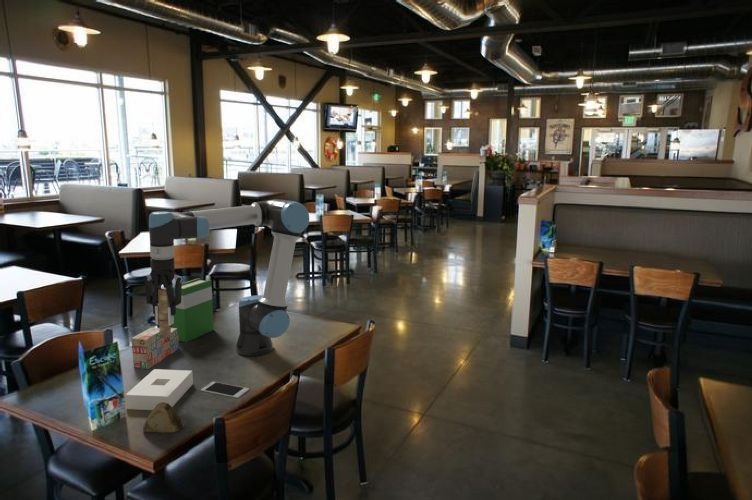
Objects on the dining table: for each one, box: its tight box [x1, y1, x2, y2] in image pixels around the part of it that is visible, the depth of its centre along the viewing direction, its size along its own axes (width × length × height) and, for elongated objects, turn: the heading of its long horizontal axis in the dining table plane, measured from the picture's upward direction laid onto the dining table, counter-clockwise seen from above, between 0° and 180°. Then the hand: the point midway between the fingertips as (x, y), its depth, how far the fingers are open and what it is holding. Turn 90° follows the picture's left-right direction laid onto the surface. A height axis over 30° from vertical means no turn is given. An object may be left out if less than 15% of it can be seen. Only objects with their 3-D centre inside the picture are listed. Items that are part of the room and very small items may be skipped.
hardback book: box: [171, 277, 214, 343], centre depth 236 cm, size 18×7×24 cm, turn 156°
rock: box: [142, 402, 185, 433], centre depth 158 cm, size 11×9×10 cm
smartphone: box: [200, 381, 250, 399], centre depth 185 cm, size 7×15×1 cm, turn 70°
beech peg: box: [158, 287, 172, 335], centre depth 181 cm, size 4×4×16 cm
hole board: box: [125, 368, 194, 411], centre depth 179 cm, size 14×20×5 cm
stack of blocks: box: [131, 327, 180, 370], centre depth 210 cm, size 21×6×12 cm, turn 168°
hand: (164, 323), depth 182 cm, fingers closed on beech peg, 4 cm apart
